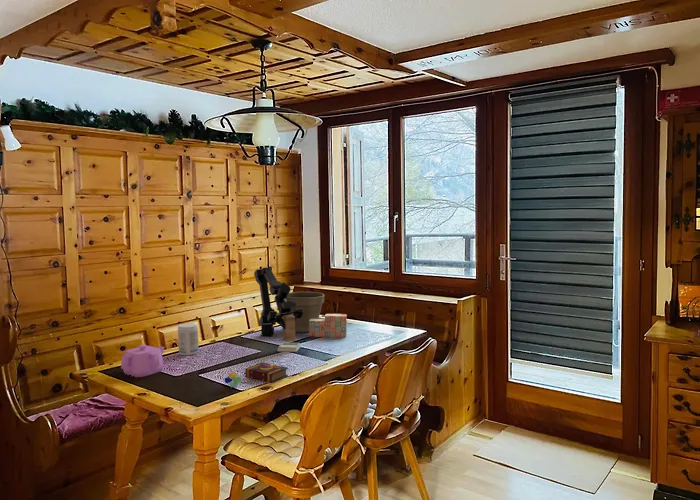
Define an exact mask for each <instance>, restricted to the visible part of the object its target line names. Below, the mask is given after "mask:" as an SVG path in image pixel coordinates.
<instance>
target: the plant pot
mask: <svg viewBox="0 0 700 500" xmlns="http://www.w3.org/2000/svg"><path fill="white" fill-rule="evenodd" d="M291 300H295V303H296V305H295V306H293V307H292V308H291V309H292V310H291V311H290V312H294V311H295V309H303V312H304V313H303V315H302V317H301V318H298V319H296V321H295V333H309V320H310V319H320V315H321V312H322V306H323V304H324V302H325V294H324V293H322V292H317V291H316V292H315V291H293V292H289V295H288V297H287V298H286V301H291Z"/></svg>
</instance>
